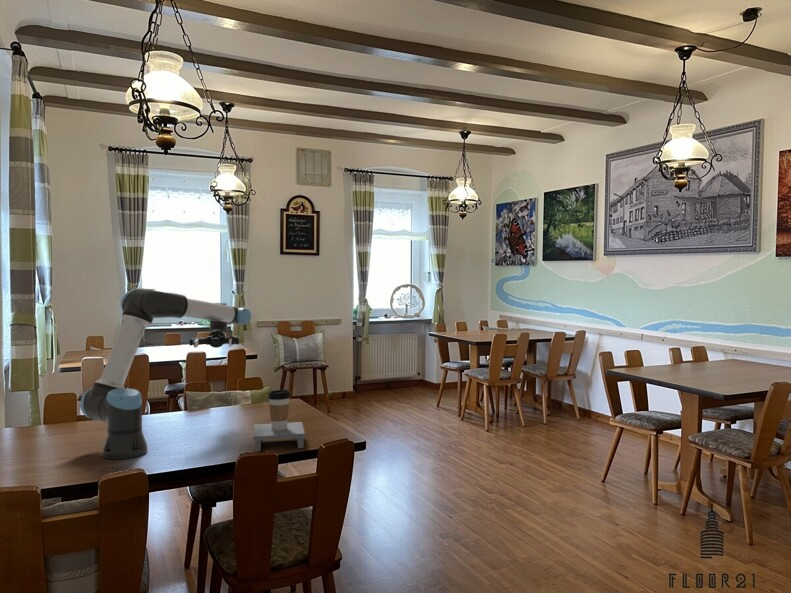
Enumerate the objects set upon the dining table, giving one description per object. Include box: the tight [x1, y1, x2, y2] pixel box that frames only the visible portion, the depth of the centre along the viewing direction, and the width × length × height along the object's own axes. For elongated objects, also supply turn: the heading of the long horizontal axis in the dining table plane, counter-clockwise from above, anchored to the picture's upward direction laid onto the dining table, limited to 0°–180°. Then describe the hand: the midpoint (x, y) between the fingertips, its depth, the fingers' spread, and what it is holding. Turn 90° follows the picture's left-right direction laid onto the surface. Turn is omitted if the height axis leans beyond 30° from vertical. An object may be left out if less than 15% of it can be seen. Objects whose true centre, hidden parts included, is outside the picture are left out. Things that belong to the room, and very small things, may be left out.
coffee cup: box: [268, 389, 291, 431], centre depth 227 cm, size 8×8×15 cm
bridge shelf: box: [253, 421, 306, 453], centre depth 227 cm, size 19×18×6 cm
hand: (212, 343), depth 238 cm, fingers open, 13 cm apart
